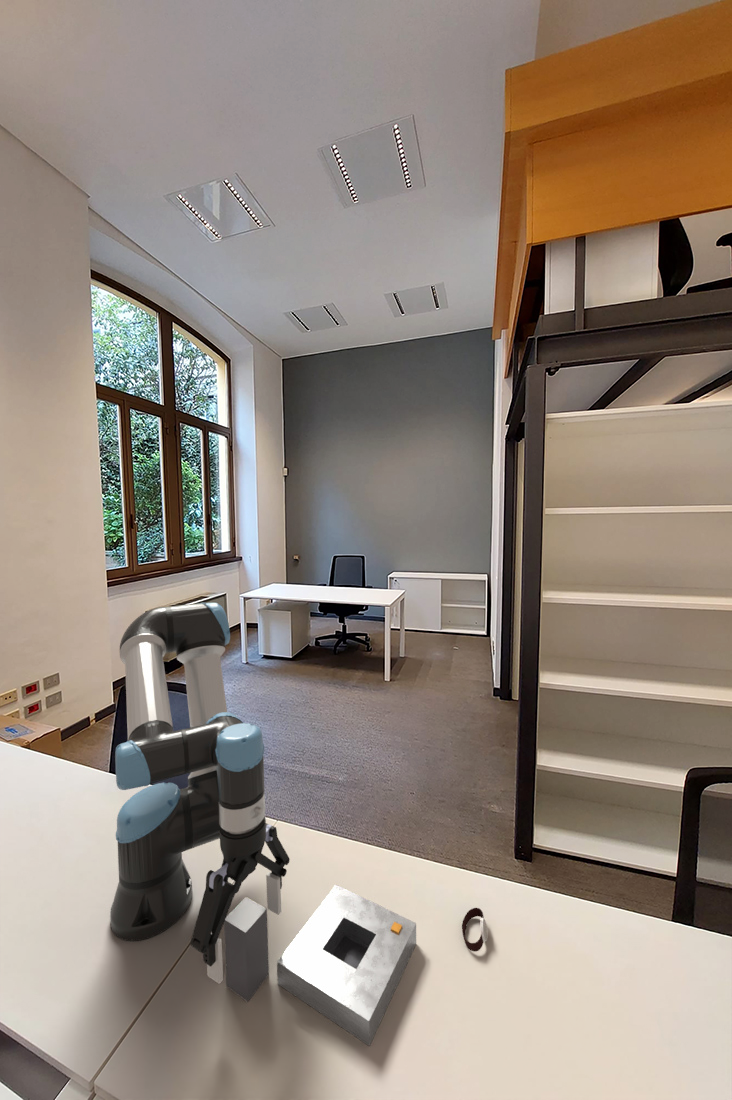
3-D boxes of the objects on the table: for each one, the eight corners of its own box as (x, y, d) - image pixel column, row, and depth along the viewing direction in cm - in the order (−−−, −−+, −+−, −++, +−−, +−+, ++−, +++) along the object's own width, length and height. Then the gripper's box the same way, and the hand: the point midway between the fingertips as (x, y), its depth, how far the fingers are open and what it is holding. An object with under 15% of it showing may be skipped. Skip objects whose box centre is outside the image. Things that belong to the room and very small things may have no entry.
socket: (277, 984, 73) (277, 960, 72) (336, 902, 88) (335, 882, 88) (369, 1046, 64) (368, 1019, 63) (416, 943, 79) (416, 921, 79)
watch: (485, 959, 76) (485, 940, 76) (459, 950, 78) (459, 931, 78) (488, 921, 84) (488, 904, 84) (464, 914, 85) (464, 897, 85)
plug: (226, 986, 72) (224, 919, 72) (247, 960, 77) (245, 896, 76) (247, 1002, 70) (245, 932, 69) (268, 974, 74) (266, 908, 74)
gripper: (195, 882, 59) (201, 1027, 60) (305, 787, 81) (309, 895, 82) (161, 862, 63) (167, 999, 64) (275, 777, 85) (279, 880, 85)
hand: (247, 941), depth 73 cm, fingers open, 13 cm apart
